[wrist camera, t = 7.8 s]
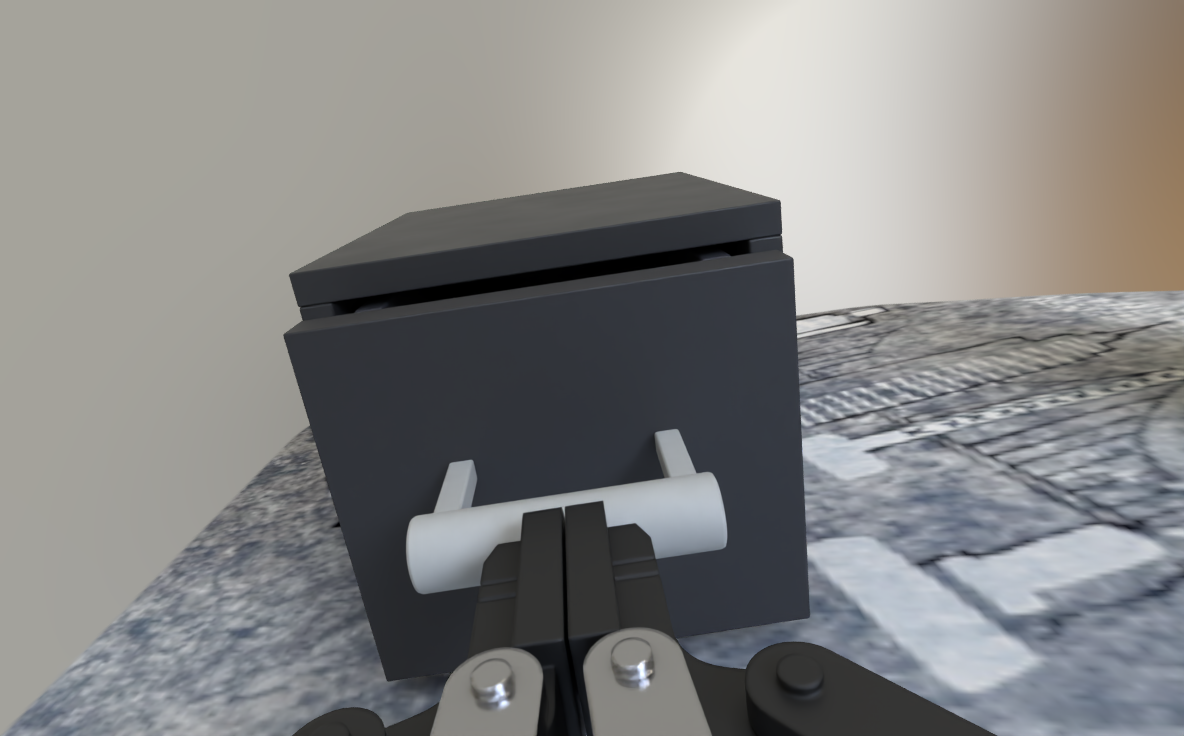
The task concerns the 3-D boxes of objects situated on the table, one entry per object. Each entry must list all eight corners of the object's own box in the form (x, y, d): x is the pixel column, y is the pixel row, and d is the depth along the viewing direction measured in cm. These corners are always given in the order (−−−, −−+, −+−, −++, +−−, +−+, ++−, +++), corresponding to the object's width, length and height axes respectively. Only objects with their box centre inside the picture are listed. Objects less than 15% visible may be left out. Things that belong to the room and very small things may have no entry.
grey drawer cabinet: (800, 583, 21) (780, 199, 18) (394, 644, 21) (287, 274, 18) (703, 406, 35) (681, 171, 32) (458, 443, 35) (406, 212, 32)
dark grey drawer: (878, 747, 15) (875, 298, 11) (341, 828, 15) (187, 402, 11) (706, 421, 31) (685, 202, 28) (456, 459, 31) (406, 244, 28)
